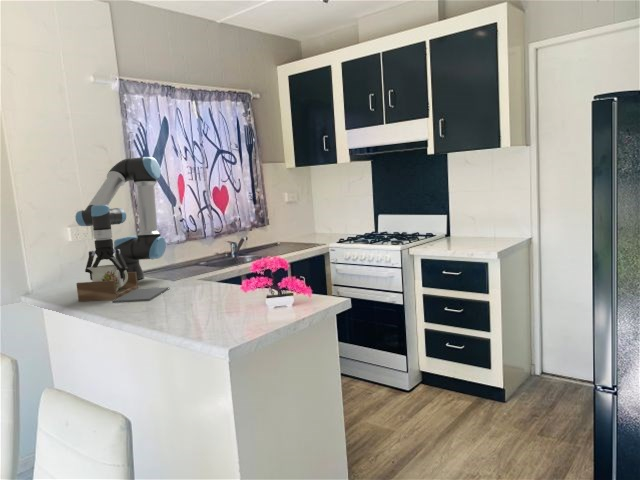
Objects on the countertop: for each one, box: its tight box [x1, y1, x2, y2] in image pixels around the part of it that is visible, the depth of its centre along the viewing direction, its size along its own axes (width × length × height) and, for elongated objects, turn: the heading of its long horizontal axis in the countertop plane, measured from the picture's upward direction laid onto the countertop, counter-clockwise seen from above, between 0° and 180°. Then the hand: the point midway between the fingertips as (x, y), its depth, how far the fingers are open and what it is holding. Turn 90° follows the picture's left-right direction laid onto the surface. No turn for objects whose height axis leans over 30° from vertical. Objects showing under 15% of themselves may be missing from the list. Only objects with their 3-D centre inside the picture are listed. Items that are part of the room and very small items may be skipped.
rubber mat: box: [111, 286, 170, 304], centre depth 215 cm, size 24×16×1 cm, turn 178°
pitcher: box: [87, 264, 128, 293], centre depth 222 cm, size 11×18×14 cm, turn 137°
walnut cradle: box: [76, 272, 139, 302], centre depth 222 cm, size 24×16×8 cm
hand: (108, 286), depth 222 cm, fingers closed on pitcher, 11 cm apart
